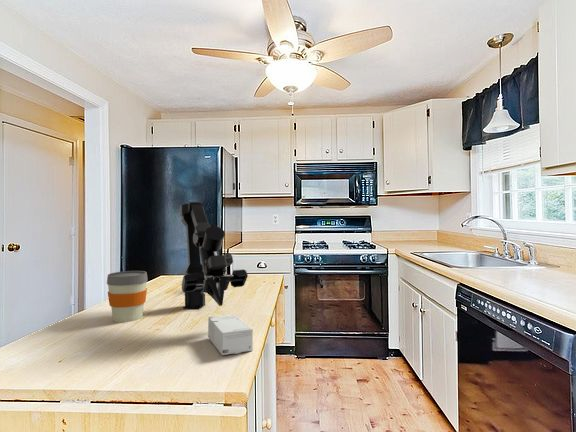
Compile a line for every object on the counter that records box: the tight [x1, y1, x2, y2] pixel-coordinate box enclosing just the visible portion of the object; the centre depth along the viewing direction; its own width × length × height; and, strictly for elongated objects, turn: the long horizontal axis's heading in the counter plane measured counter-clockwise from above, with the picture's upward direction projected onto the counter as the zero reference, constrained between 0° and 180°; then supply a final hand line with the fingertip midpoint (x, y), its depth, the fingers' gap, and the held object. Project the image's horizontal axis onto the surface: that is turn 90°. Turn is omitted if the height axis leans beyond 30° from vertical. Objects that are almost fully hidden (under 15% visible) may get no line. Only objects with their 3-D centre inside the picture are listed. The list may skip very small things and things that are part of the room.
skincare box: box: [207, 313, 254, 356], centre depth 95 cm, size 8×6×15 cm
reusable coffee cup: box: [106, 270, 149, 323], centre depth 119 cm, size 12×13×15 cm
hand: (221, 304), depth 101 cm, fingers closed
